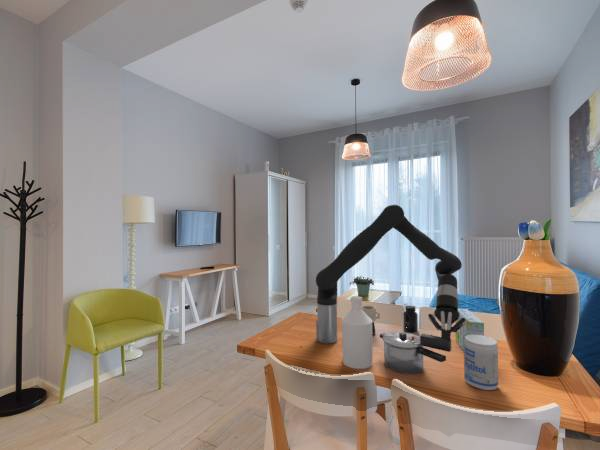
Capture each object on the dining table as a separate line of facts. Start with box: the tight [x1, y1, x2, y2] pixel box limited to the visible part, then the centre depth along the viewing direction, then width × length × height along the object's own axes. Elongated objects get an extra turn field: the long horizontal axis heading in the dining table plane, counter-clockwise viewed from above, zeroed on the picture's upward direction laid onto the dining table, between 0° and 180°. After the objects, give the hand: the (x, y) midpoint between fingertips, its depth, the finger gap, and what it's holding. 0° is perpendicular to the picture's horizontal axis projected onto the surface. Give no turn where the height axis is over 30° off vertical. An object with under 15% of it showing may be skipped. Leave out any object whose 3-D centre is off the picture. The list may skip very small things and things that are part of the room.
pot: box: [379, 332, 447, 375], centre depth 108 cm, size 27×14×9 cm, turn 32°
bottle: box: [341, 295, 373, 370], centre depth 113 cm, size 12×12×25 cm
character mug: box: [362, 304, 381, 335], centre depth 144 cm, size 11×7×13 cm, turn 60°
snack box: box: [455, 308, 485, 352], centre depth 123 cm, size 21×6×15 cm, turn 166°
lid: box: [382, 331, 452, 353], centre depth 107 cm, size 24×15×4 cm, turn 52°
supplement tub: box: [463, 335, 499, 391], centre depth 96 cm, size 10×10×15 cm
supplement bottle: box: [402, 305, 419, 333], centre depth 148 cm, size 7×7×12 cm
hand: (445, 341), depth 103 cm, fingers closed
